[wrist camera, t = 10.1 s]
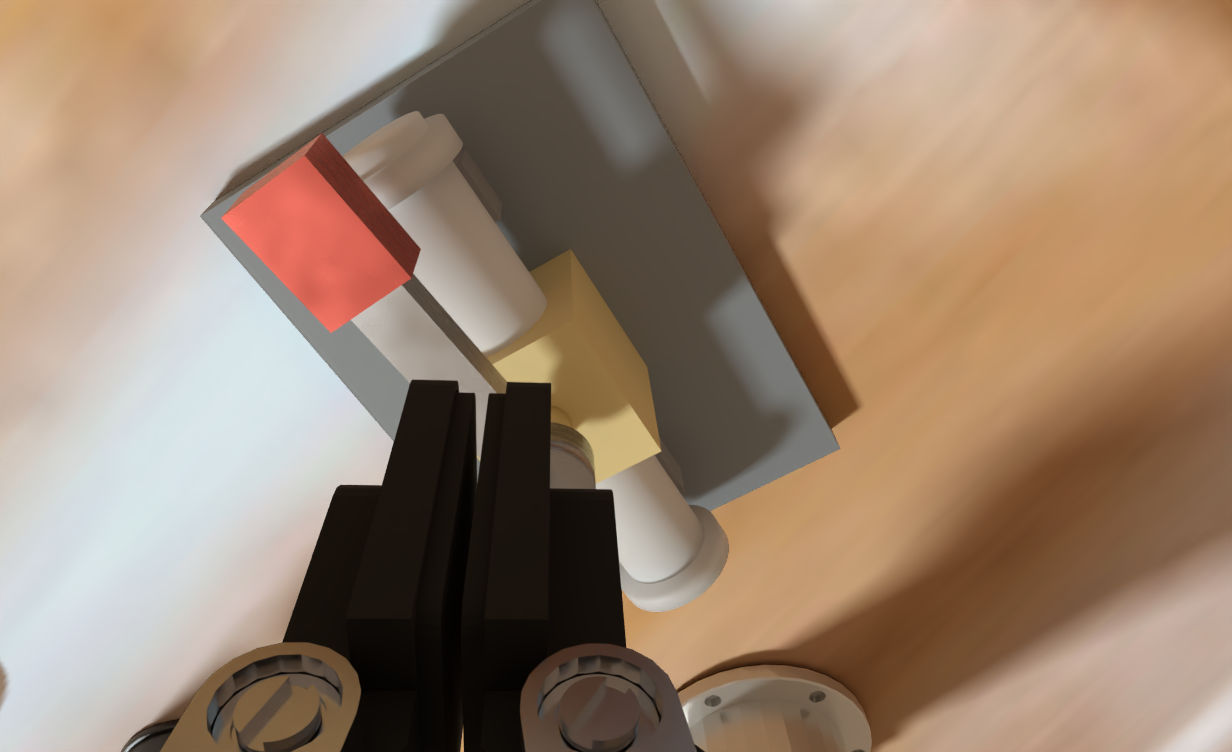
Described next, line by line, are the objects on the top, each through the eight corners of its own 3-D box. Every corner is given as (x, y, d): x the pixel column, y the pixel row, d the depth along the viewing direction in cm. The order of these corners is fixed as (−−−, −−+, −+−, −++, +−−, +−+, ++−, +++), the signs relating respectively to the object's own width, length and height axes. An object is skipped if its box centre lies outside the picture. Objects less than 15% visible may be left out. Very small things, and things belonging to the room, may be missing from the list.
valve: (831, 429, 42) (896, 571, 34) (529, 575, 45) (523, 736, 37) (578, -30, 32) (586, 16, 24) (213, 202, 35) (111, 311, 27)
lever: (612, 469, 31) (615, 507, 29) (537, 512, 31) (536, 552, 30) (324, 130, 25) (307, 153, 23) (240, 193, 25) (218, 220, 24)
